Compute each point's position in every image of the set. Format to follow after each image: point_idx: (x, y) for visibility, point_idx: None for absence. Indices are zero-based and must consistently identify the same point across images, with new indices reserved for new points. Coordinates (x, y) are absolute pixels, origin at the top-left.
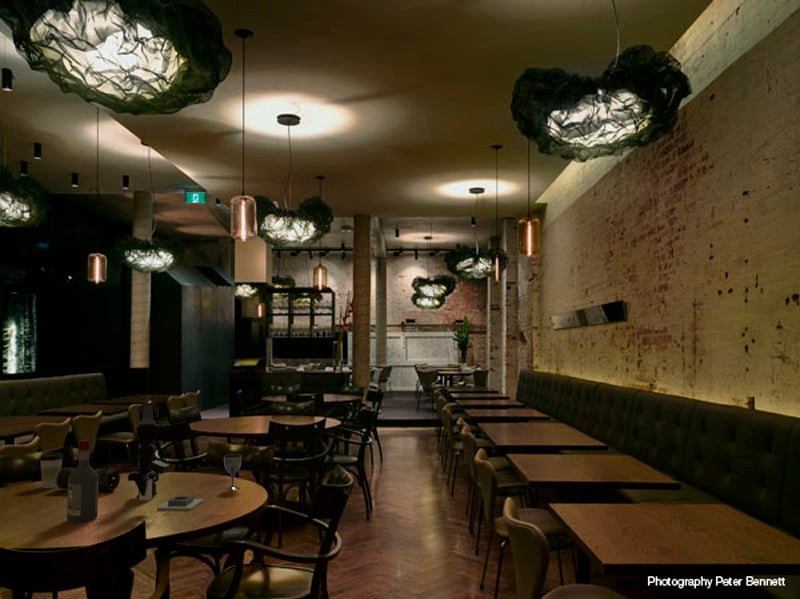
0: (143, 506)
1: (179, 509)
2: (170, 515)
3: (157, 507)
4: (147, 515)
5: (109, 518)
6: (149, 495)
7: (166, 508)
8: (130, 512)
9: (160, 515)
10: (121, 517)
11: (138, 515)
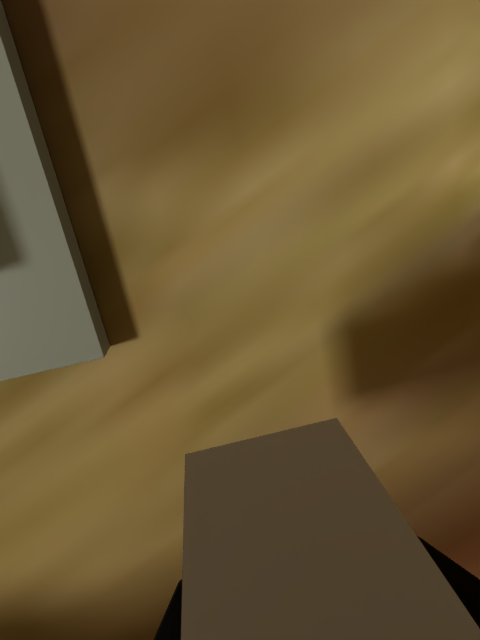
0: (29, 571)
1: (7, 26)
2: (278, 8)
3: (97, 356)
4: (327, 308)
5: (458, 558)
6: (294, 474)
7: (67, 232)
8: None
9: (302, 154)
10: (422, 494)
11: (341, 397)
